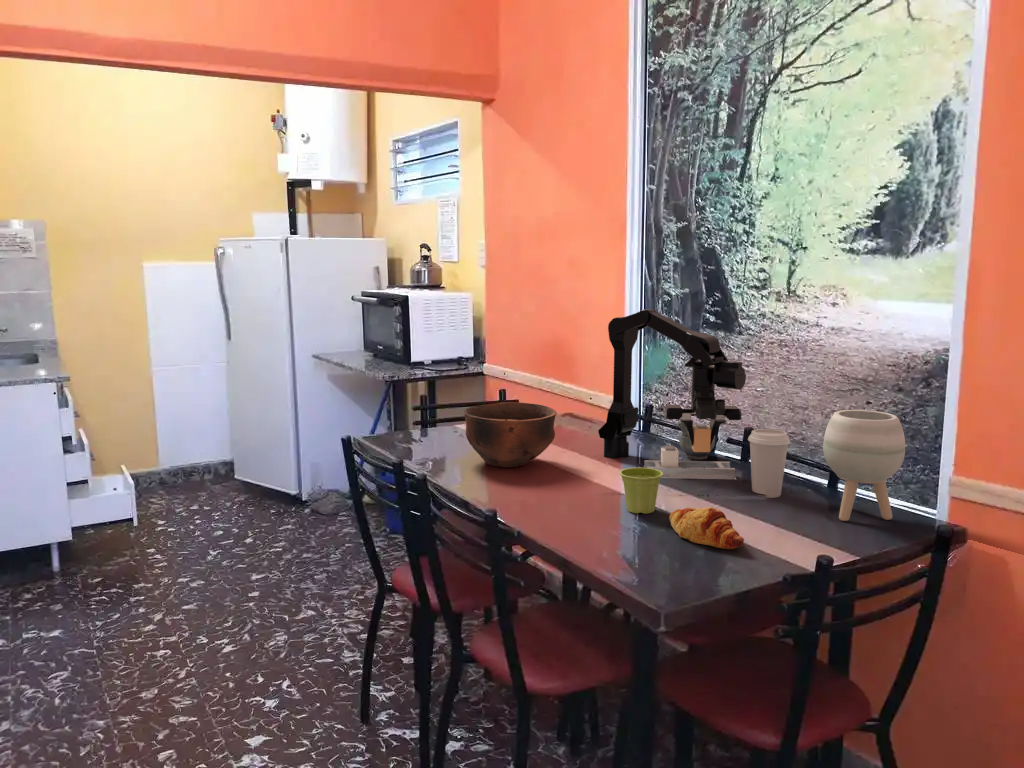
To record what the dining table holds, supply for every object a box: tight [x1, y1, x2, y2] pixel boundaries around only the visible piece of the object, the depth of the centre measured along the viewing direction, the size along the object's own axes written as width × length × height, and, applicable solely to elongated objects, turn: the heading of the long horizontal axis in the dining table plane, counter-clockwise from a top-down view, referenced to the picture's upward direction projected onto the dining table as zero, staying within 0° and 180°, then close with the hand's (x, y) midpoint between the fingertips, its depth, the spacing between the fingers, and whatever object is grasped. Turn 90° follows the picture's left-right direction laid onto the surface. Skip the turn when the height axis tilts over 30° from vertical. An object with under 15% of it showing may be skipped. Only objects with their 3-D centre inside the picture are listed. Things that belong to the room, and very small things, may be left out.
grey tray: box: [643, 459, 737, 480], centre depth 210 cm, size 22×12×3 cm, turn 86°
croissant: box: [668, 507, 745, 550], centre depth 162 cm, size 21×10×8 cm, turn 28°
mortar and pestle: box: [677, 419, 716, 460], centre depth 226 cm, size 11×9×12 cm
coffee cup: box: [747, 428, 791, 499], centre depth 192 cm, size 10×10×15 cm
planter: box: [822, 409, 906, 522], centre depth 175 cm, size 16×16×22 cm
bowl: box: [462, 401, 558, 468], centre depth 221 cm, size 25×25×15 cm
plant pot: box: [619, 467, 663, 515], centre depth 180 cm, size 9×9×9 cm
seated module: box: [660, 445, 680, 467], centre depth 210 cm, size 4×4×7 cm
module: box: [692, 423, 711, 453], centre depth 208 cm, size 4×4×7 cm
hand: (700, 445), depth 209 cm, fingers closed on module, 4 cm apart
